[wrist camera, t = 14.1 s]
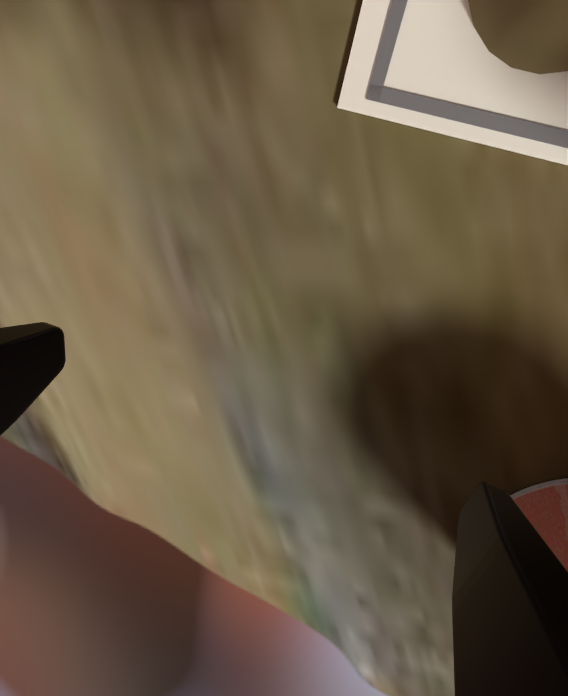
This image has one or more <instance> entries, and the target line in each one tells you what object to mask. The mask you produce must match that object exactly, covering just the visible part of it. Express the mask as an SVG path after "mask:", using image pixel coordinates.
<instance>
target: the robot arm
mask: <svg viewBox="0 0 568 696" xmlns="http://www.w3.org/2000/svg"><path fill="white" fill-rule="evenodd" d="M64 364H65V343H64V333H63V331H62V329H60V328H59V327H56V326H54V325H51V324H48V323H44V322H40V323H33V324H25V325H18V326H11V327H4V328H0V435H2V434H3V433H4V432H5V431H6V430H7V429H8V428H9V427H10V426H11V425H12V424H13V423H14V422H15V421H16V420H17V419H18V418H19V417H20V416H21V415H22V414H23V413H24V412H25V411H26V409H27V408H28V407H29V406H30V405H31V404H32V403H33V402H34V401H35V399H36V398H37V397H38V396H39V395H40V394H41V393H42V392H43V390H44V389H45V388H46V387H47V386H48V385H49V384H50V383H51V382H52V380H53V379H54V378H55V377H56V376H57V375H58V374H59V373H60V372H61V370H62V369H63V367H64ZM452 621H453V652H454V684H455V696H568V571H567V570H566V569H565V567H564V566H563V565H562V563H561V562H560V561H559V559H558V558H557V557H556V556H555V554H554V553H553V552H552V550H551V549H550V548H549V546H548V545H547V544H546V542H545V541H544V540H543V538H542V537H541V536H540V534H539V533H538V532H537V531H536V529H535V528H534V527H533V525H532V524H531V523H530V521H529V520H528V519H527V517H526V516H525V515H524V513H523V512H522V511H521V510H520V508H519V507H518V506H517V504H516V503H515V502H514V500H513V499H512V498H511V496H510V495H509V494H508V493H507V491H506V490H505V489H503V488H501V487H498V486H495V485H493V484H490V483H487V482H481V483H479V484H478V485H477V487H476V488H475V490H474V491H473V493H472V494H471V496H470V497H469V499H468V500H467V502H466V504H465V505H464V507H463V508H462V510H461V513H460V516H459V521H458V532H457V544H456V555H455V567H454V579H453V593H452Z"/></svg>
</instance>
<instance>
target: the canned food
mask: <svg viewBox="0 0 568 696" xmlns="http://www.w3.org/2000/svg"><path fill="white" fill-rule="evenodd" d="M510 496H511V498H512V499H513V500H514V502H515V503H516V504H517V506H518V507H519V508H520V510H521V511H522V512H523V513H524V515H525V516H526V517H527V519H528V520H529V521H530V523H531V524H532V525H533V527H534V528H535V529H536V531H537V532H538V533H539V534H540V536H541V537H542V538H543V540H544V541H545V542H546V544H547V545H548V546H549V548H550V549H551V550H552V552H553V553H554V554H555V556H556V557H557V558H558V559H559V561H560V562H561V563H562V565H563V566H564V567H565V569H566V570H567V571H568V478H565V479H558V480H553V481H548V482H544V483H540V484H536V485H533V486H530V487H527V488H525V489H523V490H520V491H518V492H516V493H514V494H512V495H510Z"/></svg>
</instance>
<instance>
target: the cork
mask: <svg viewBox="0 0 568 696" xmlns="http://www.w3.org/2000/svg"><path fill="white" fill-rule="evenodd" d="M468 2H469V7H470V11H471V16H472V21H473V26H474V28H475V30H476V31H477V33H478V35H479V36H480V38H481V39H482V41H483V43H484V44H485V46H486V48H487V49H488V51H489V52H490V53H492V54H493V55H494V56H496V57H497V58H499V59H500V60H501V61H503V62H504V63H506V64H507V65H508V66H510V67H511V68H515V69H519V70H523V71H527V72H532V73H536V74H547V73H556V72H564V71H568V0H468Z"/></svg>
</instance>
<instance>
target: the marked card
mask: <svg viewBox="0 0 568 696" xmlns="http://www.w3.org/2000/svg"><path fill="white" fill-rule="evenodd" d="M337 108H340V109H344V110H348V111H352V112H356V113H360V114H364V115H368V116H372V117H376V118H380V119H384V120H388V121H392V122H396V123H400V124H404V125H408V126H412V127H416V128H420V129H424V130H428V131H432V132H436V133H440V134H444V135H448V136H452V137H456V138H460V139H464V140H468V141H472V142H476V143H480V144H484V145H488V146H492V147H497V148H501V149H505V150H509V151H513V152H517V153H521V154H525V155H529V156H533V157H537V158H541V159H545V160H549V161H553V162H557V163H561V164H565V165H568V71H564V72H556V73H547V74H536V73H532V72H527V71H523V70H519V69H515V68H511V67H510V66H508V65H507V64H506V63H504V62H503V61H501V60H500V59H499V58H497V57H496V56H494V55H493V54H492V53H490V52H489V51H488V49H487V48H486V46H485V44H484V43H483V41H482V39H481V38H480V36H479V35H478V33H477V31H476V30H475V28H474V26H473V21H472V16H471V11H470V7H469V2H468V0H363V2H362V7H361V11H360V15H359V19H358V23H357V27H356V32H355V36H354V40H353V44H352V48H351V52H350V57H349V61H348V65H347V69H346V73H345V77H344V81H343V86H342V90H341V94H340V98H339V102H338V106H337Z"/></svg>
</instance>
